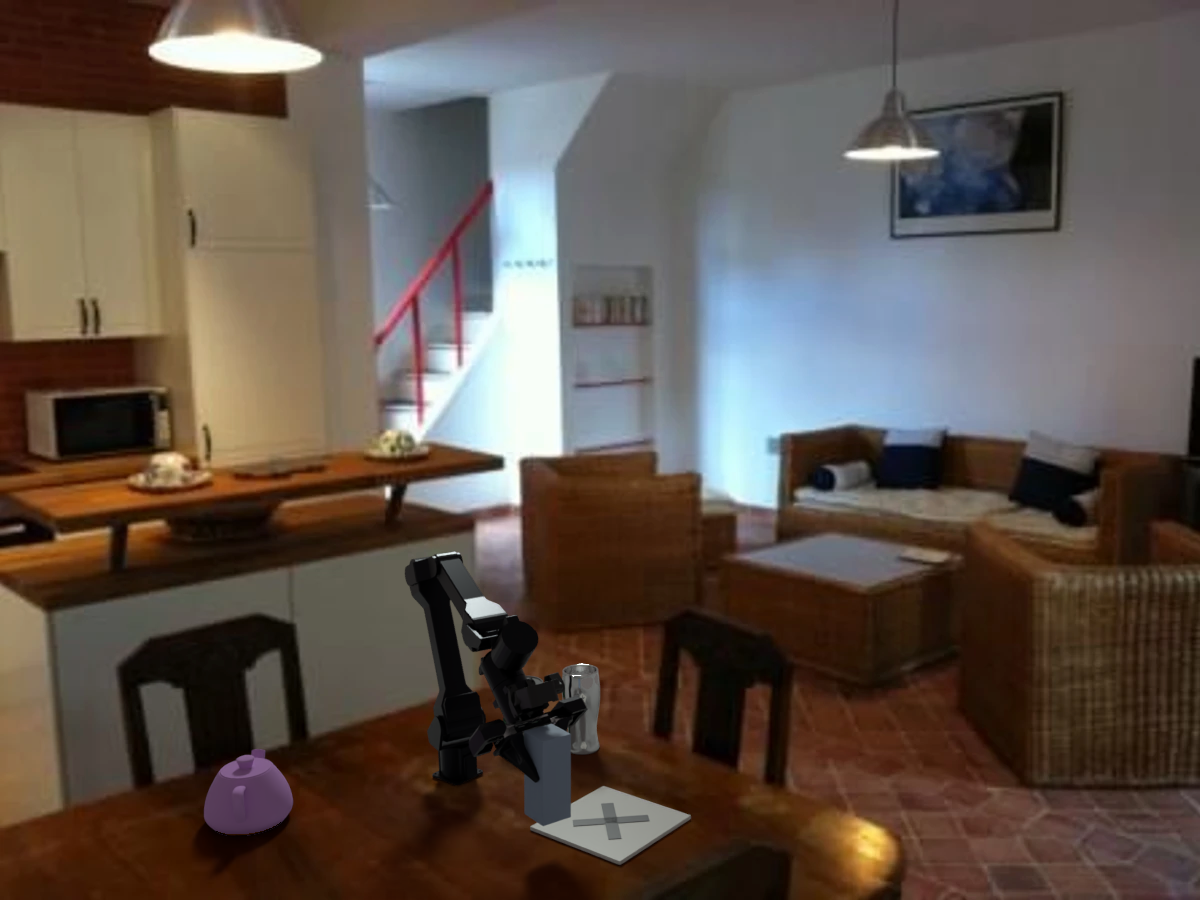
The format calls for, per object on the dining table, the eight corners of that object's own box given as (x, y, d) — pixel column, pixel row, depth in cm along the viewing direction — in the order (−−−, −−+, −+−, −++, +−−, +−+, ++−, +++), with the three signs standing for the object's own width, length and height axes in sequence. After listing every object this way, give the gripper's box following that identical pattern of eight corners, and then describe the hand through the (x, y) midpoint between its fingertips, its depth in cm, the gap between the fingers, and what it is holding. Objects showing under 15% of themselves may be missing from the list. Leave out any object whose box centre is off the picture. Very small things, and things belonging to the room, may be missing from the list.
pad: (530, 830, 176) (530, 825, 176) (603, 789, 189) (603, 785, 189) (619, 865, 164) (619, 860, 164) (690, 818, 178) (690, 814, 178)
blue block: (524, 813, 169) (523, 731, 167) (551, 804, 172) (551, 723, 170) (543, 826, 165) (542, 741, 163) (570, 817, 168) (570, 734, 166)
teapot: (302, 787, 194) (298, 728, 192) (285, 843, 174) (280, 778, 172) (219, 794, 192) (214, 734, 190) (193, 851, 172) (187, 785, 171)
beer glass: (597, 756, 203) (595, 677, 200) (560, 754, 204) (557, 675, 202) (605, 741, 209) (602, 664, 207) (568, 739, 211) (566, 662, 209)
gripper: (475, 673, 162) (520, 770, 155) (578, 645, 174) (625, 734, 167) (450, 709, 170) (492, 803, 163) (551, 680, 181) (594, 767, 174)
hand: (552, 776), depth 166 cm, fingers closed on blue block, 5 cm apart
